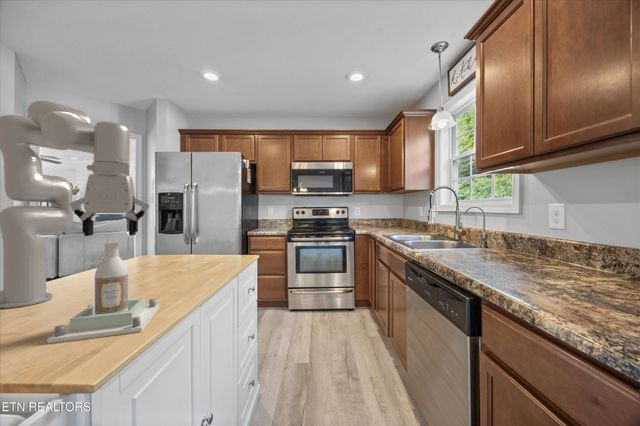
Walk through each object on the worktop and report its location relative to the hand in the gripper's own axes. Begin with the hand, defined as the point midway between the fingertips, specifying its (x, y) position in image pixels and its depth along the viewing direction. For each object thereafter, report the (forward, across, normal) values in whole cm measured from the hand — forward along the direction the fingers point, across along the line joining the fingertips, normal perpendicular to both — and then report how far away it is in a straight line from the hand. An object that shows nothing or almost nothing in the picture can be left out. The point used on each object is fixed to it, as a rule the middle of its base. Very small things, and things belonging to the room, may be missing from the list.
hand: (111, 235), depth 71 cm
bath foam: (+22, +1, 0) cm, 22 cm away
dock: (+23, +1, -1) cm, 23 cm away
